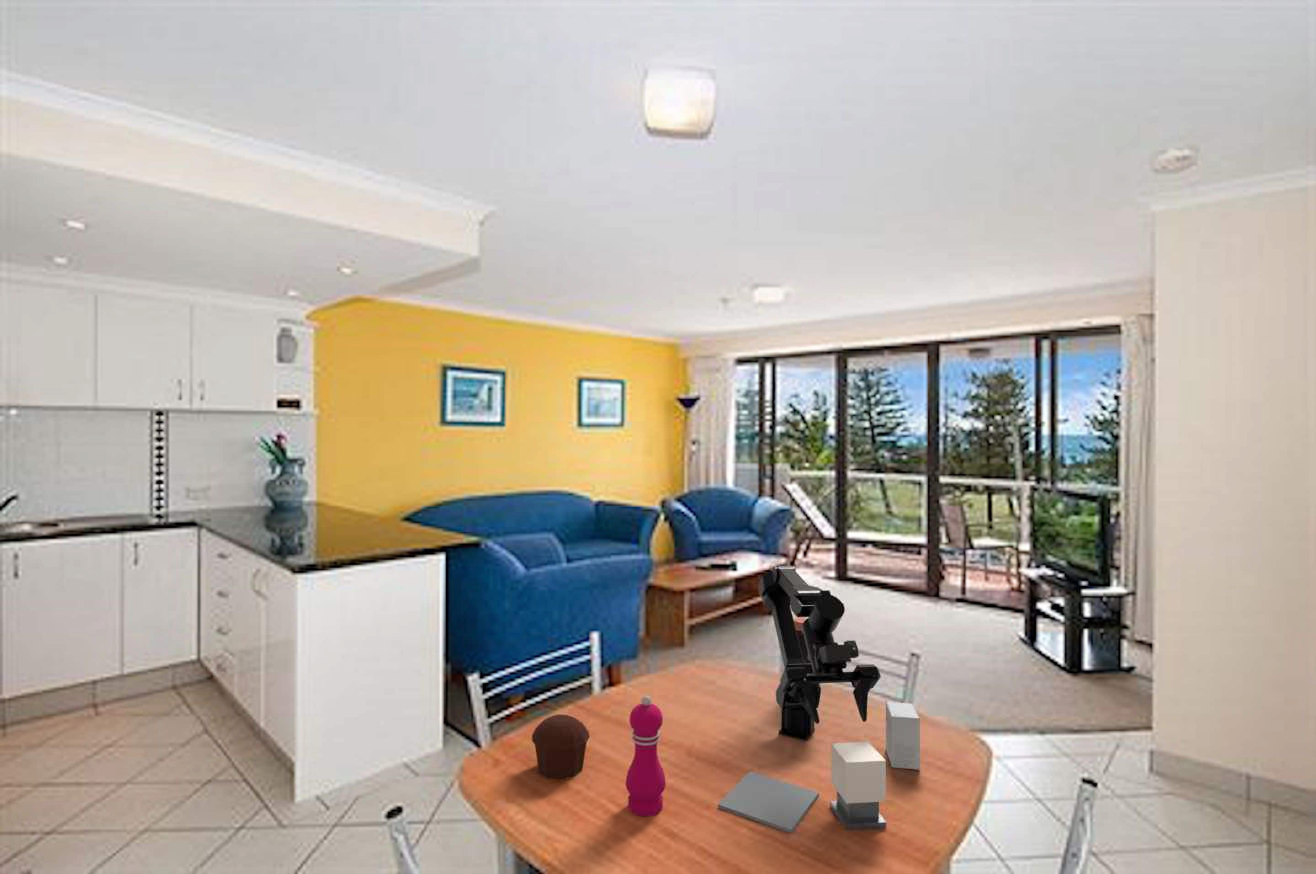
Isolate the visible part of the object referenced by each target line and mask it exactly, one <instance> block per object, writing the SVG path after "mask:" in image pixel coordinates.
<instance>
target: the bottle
mask: <svg viewBox="0 0 1316 874" xmlns="http://www.w3.org/2000/svg"><path fill="white" fill-rule="evenodd" d="M807 618H808V617H796V618H793V620H794V624H795V628H796V632H797V636H798V640H799V644H800V648H801V652H802V656H803V660H804V661H805V662H806V663H807V664H811V661H808V658H807V656H808V650H807V646H806V642H805V638H804V635H802V625H803V622H804V621H805V620H806V619H807Z"/></svg>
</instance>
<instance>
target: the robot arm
mask: <svg viewBox="0 0 1316 874" xmlns="http://www.w3.org/2000/svg"><path fill="white" fill-rule="evenodd" d="M758 594H759V596H760V597H761V599H762V603H763V605H764V607H765V608H767V610H769V612H770V613H771V614H772V618H773V623H774V627H775V632H776V636H777V641H778V644H779V649H780V654H781V658H782V663H783V667H784V668H783V671H782V674H781V676H780V679H779V680H780V681H779V684H778V686H777V688H776V691H775V701H776V703H777V705H778V706H779V707H780V709H781V721H780V722H781V726H780V727H781V728H780V729H778V734H779V735H784V736H788V737H790V738H791V737H792V738H794V739H799V740H802V741H807V740H808V739H809V737H810V736H811V735H812V734H813V733H814V732H815V731H816V728H815V724H816V725H819V724H820V718H819V717H820V716H819V712H818V708H819V705H820V699H821V693H822V687H821V684H833V683H834V684H836V683H837V684H838V683H839V684H840V683H851V686H852V687H853V688H854V689H853V691H852V694H853V697H854V700H855V703H856V707H857V709H858V713H859V716H860V718H861V720H862V722H863V723H866V722H867V720H868V698H869V692H870V690H871V689H873V688H875V686H876V684H877V683H878V682H879V680H880V679H881V677H882V676H881V672H880V670H879V668H878V667H877V666H876V665H875V664H872V663H871V664H870V663H869V664H856V666H855V667H854V669H853V670H852V671H844V670H843V669H846V668H847V667H848V664H847V663H852V659H856V658H858V657H859V656H860V654H859V653H860V652H859V647H858V643H857V642H856V640H855V639H853V640H852V639H851V640H846V641H843V644H838V642H835V638H834V635H833V632H834V631H836V629H837V627H838V626H839V623H840V621H841V620H842V618H843V616H844V614H845V610H846V609H845V604H844V603H843V602H842V601H841V599H840V598H837V596H835V595H832V594H831V590H830V589H828V590H827V589H825V590H823V589H822V588H820V587H818V586H812V585H809V584H808V583H807V582H806V581H805V579H803V577H801V576H800V574H799V573H798V572H797V570H796V567H795V566H792V565H776V566H773V568H772V569H771V571H769V572H767V573H765V574H763V575H762V577H761V578H760V580H759V582H758ZM793 614H794V616H795V617H796V618H807V619H806V620H805V621H804V622H803V625H802V635H804V638H805V642H806V646H807V650H808V656H807V658H808V661H811V664H807V663H806V662H805V661H804V660H803V656H802V652H801V648H800V644H799V640H798V636H797V632H796V628H795V624H794V617H793Z"/></svg>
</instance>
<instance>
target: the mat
mask: <svg viewBox="0 0 1316 874" xmlns="http://www.w3.org/2000/svg"><path fill="white" fill-rule="evenodd" d="M819 796H820V793H819V791H815V790H812V789H809V788H806V787H802V786H799V785H796V784H793V783H790V782H786V781H785V780H780V779H776V778H773V777H770V776H767V775H763V774H761V773H757V772H754V771H749V772H748V773H747V774H746V775H745V776H744V777H743V778H742V779H741V780H740V781H739V782H738V783H737V784H736V785H735V786H734V787H733V788H732V789H731V790H730V791H729V792H728V793H727V794H726V795H725V796H724V797H723V798H722V799H721V800H720V801H719V802H718V803H717V808H718V809H722V810H724V811H727V812H729V813H731V814H732V813H733V814H735V815H737V816H740V817H744V818H747V819H748V820H749V819H750V820H751V821H754V822H758V823H760V824H763V825H766V826H769V827H772V828H775V829H778V830H781V831H783V832H786V833H789V834H792V833H793V831H795V830H796V829H797V826H798V825H799V824H800V822H801V821H802V820H803V818H804V817H805V815H806V814H807V812H808V811H809V810H810V808H812V806H813V804H814V802H816V800H817V799H818V798H819Z"/></svg>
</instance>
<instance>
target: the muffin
mask: <svg viewBox="0 0 1316 874" xmlns="http://www.w3.org/2000/svg"><path fill="white" fill-rule="evenodd" d="M590 737H591V736H590V732H589V730H588V729H587V727H586V725H585V724H584V722H582V721H580V719H578V718H576V717H573V716H572V715H569V714H555V715H551V716H549V717H547V718H544V719H543V720H542V721H541V722H540V723H539V724H538V725H537V726H536V727H535V729H534V731H533V732H532V734H531V740H532V743H533V744H534V748H535V755H536V761H537V767H538V774H540V775H542V776H544V777H545V778H546V779H552V780H559V781H561V780H565V779H570V778H574V777H576V776H577V775H578V774H579V773H581V772H582V771H583V767H584V760H585V754H586V748H587V742H588V740H589V738H590Z"/></svg>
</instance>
